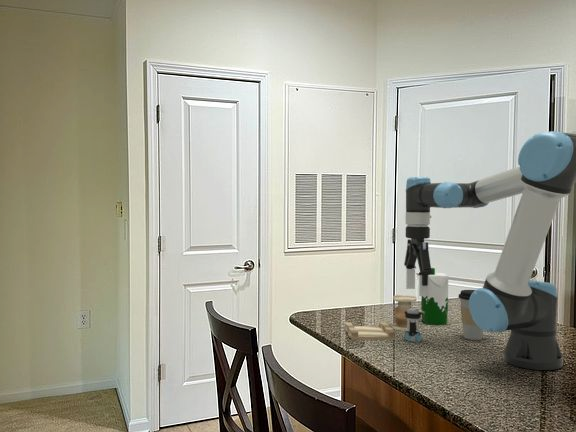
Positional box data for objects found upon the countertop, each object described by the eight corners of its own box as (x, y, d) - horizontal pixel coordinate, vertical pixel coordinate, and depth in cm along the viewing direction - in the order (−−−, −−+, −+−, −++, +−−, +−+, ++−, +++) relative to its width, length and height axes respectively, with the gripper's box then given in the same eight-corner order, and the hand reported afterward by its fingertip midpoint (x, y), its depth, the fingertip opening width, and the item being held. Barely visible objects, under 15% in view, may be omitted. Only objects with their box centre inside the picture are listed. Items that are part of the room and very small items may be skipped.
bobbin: (420, 331, 186) (421, 299, 186) (394, 331, 186) (395, 299, 185) (413, 325, 195) (413, 294, 195) (388, 325, 195) (388, 294, 194)
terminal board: (395, 340, 175) (395, 331, 175) (351, 340, 174) (351, 332, 174) (384, 329, 189) (385, 321, 189) (344, 329, 188) (344, 322, 188)
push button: (424, 339, 177) (425, 308, 176) (426, 343, 171) (426, 311, 171) (403, 338, 178) (404, 307, 177) (404, 342, 173) (405, 310, 172)
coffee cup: (490, 342, 173) (491, 294, 173) (459, 340, 175) (459, 293, 175) (485, 334, 183) (486, 289, 182) (456, 333, 184) (456, 288, 184)
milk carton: (419, 320, 203) (419, 266, 202) (443, 320, 203) (444, 266, 202) (424, 326, 194) (425, 269, 193) (450, 326, 194) (451, 270, 193)
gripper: (443, 228, 163) (442, 299, 164) (417, 223, 188) (416, 285, 189) (418, 228, 162) (417, 299, 163) (395, 223, 187) (394, 285, 188)
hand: (416, 292), depth 176 cm, fingers open, 13 cm apart
